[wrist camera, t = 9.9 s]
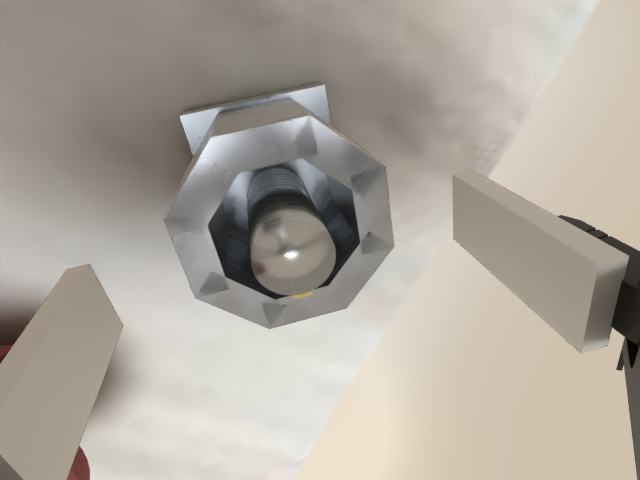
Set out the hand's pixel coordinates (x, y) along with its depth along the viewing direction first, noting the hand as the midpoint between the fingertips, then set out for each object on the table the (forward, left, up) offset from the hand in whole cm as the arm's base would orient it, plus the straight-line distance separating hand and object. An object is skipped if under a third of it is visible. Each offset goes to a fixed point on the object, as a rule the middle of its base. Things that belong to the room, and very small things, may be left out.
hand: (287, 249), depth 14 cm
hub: (0, 0, -7) cm, 7 cm away
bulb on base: (+1, 0, -9) cm, 9 cm away
